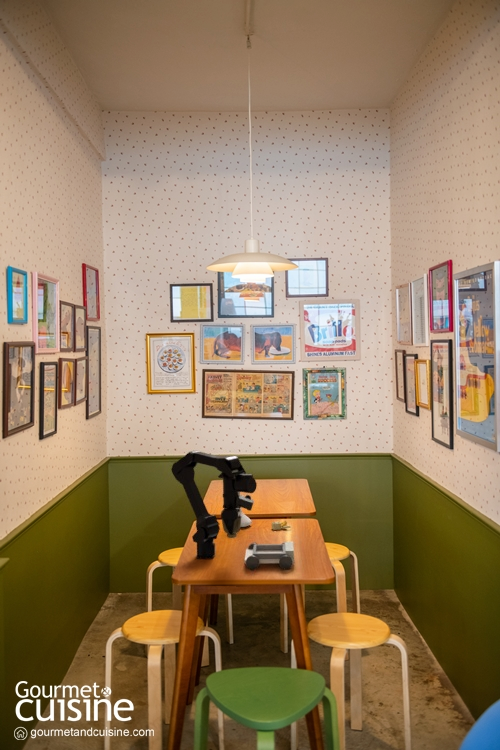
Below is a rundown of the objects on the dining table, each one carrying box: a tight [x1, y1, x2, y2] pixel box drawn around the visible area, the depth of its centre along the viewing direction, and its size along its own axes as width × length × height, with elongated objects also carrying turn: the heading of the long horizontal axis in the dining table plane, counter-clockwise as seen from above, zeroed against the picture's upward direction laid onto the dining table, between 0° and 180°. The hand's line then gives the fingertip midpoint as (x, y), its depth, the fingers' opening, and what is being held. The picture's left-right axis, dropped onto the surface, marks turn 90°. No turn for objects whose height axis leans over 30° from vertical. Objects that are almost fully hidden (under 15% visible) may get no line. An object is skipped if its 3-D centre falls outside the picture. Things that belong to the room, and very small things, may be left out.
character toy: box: [271, 520, 292, 531], centre depth 296 cm, size 8×3×8 cm
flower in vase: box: [236, 492, 252, 528], centre depth 302 cm, size 13×11×25 cm
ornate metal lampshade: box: [221, 515, 241, 539], centre depth 248 cm, size 8×7×8 cm
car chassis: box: [244, 541, 295, 571], centre depth 248 cm, size 18×18×6 cm
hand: (231, 531), depth 248 cm, fingers closed on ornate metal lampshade, 6 cm apart
